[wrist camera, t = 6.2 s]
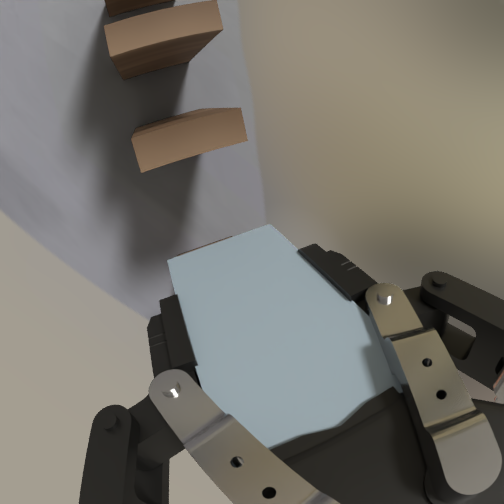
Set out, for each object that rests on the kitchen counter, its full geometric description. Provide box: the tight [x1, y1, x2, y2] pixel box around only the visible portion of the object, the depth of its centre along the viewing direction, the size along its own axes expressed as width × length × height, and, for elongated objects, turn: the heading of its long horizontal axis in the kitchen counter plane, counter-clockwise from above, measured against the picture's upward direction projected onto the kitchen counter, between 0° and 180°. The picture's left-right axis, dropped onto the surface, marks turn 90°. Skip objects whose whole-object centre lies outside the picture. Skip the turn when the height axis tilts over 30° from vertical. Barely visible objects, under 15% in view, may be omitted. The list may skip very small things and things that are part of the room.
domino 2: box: [131, 108, 248, 173], centre depth 17 cm, size 2×5×10 cm, turn 102°
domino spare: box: [167, 224, 403, 467], centre depth 10 cm, size 2×5×10 cm, turn 103°
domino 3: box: [104, 0, 223, 80], centre depth 14 cm, size 2×5×10 cm, turn 103°
